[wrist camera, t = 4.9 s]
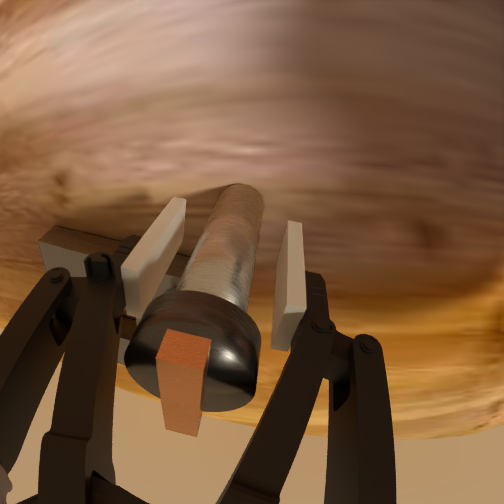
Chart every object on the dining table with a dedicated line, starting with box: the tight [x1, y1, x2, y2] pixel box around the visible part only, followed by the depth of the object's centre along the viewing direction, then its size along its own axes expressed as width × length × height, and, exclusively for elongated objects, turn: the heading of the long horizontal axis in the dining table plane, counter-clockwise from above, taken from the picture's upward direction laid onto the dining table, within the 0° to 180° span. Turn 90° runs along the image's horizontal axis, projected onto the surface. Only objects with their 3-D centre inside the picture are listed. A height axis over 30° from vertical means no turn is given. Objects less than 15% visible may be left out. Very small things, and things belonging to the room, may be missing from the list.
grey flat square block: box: [38, 226, 190, 365], centre depth 25 cm, size 14×14×4 cm
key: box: [124, 184, 264, 437], centre depth 14 cm, size 5×4×14 cm
